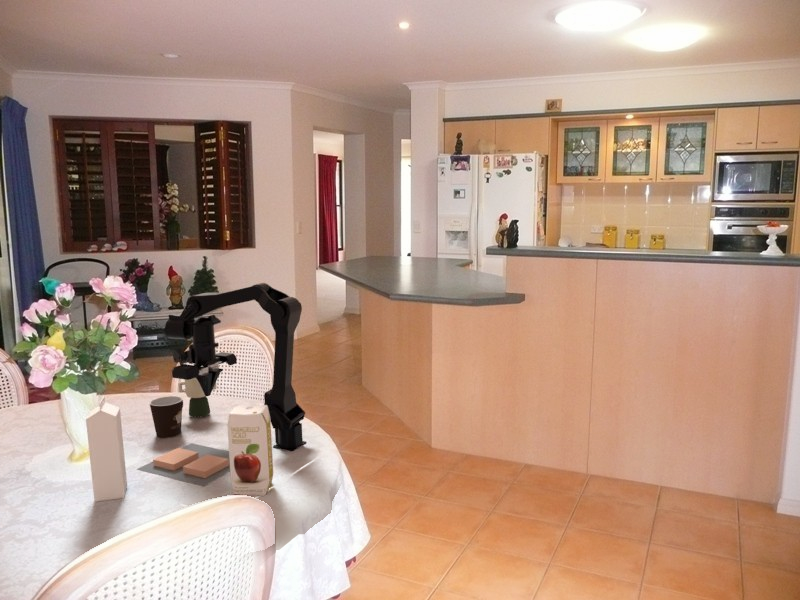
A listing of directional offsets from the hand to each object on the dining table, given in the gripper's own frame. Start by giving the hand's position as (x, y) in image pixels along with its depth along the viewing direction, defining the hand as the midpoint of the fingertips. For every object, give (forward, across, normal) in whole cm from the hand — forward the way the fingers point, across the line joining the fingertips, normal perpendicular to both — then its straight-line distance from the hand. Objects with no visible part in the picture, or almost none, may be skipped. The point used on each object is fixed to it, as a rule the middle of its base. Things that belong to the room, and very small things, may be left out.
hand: (207, 395), depth 169 cm
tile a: (+11, +13, +15) cm, 22 cm away
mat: (+12, +15, +10) cm, 22 cm away
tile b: (+11, +13, +5) cm, 17 cm away
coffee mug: (+12, +2, -12) cm, 17 cm away
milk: (+12, +35, +4) cm, 37 cm away
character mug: (+12, -12, -16) cm, 23 cm away
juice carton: (+12, +20, +32) cm, 40 cm away
